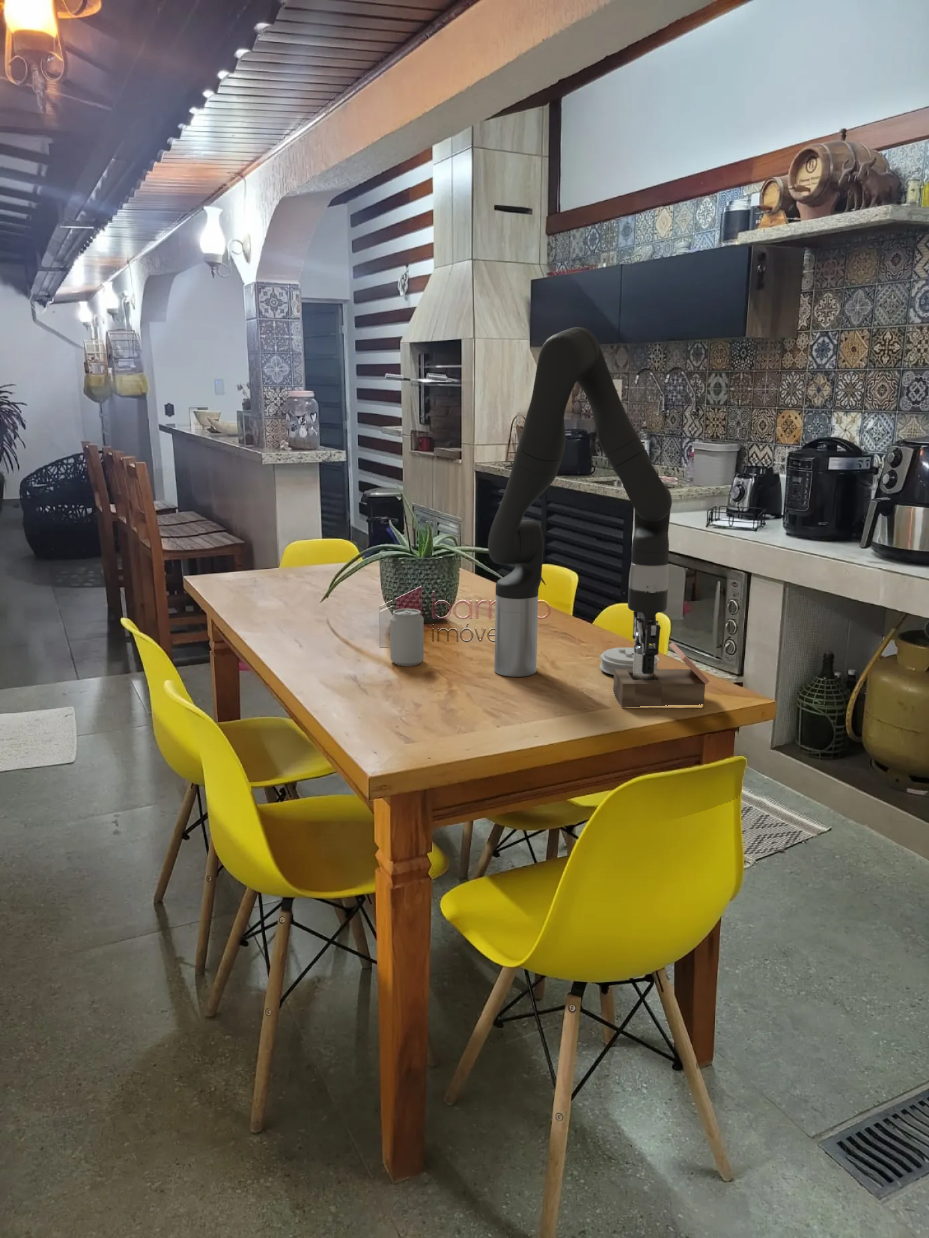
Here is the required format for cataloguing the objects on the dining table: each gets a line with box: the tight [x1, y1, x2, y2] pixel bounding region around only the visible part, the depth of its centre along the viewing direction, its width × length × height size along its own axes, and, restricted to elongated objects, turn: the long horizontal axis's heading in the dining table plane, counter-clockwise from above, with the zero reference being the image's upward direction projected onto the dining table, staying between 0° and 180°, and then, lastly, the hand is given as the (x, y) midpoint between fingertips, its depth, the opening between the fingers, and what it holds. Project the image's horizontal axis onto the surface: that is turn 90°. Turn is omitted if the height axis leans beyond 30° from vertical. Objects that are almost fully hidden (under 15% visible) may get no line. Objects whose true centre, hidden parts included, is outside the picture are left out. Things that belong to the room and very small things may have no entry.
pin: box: [633, 644, 653, 680], centre depth 191 cm, size 4×4×11 cm
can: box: [389, 608, 425, 667], centre depth 216 cm, size 8×8×12 cm
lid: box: [599, 647, 660, 676], centre depth 211 cm, size 13×13×5 cm
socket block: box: [612, 668, 706, 708], centre depth 191 cm, size 10×16×5 cm, turn 91°
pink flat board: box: [668, 641, 710, 685], centre depth 190 cm, size 11×7×1 cm
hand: (643, 668), depth 190 cm, fingers open, 6 cm apart
